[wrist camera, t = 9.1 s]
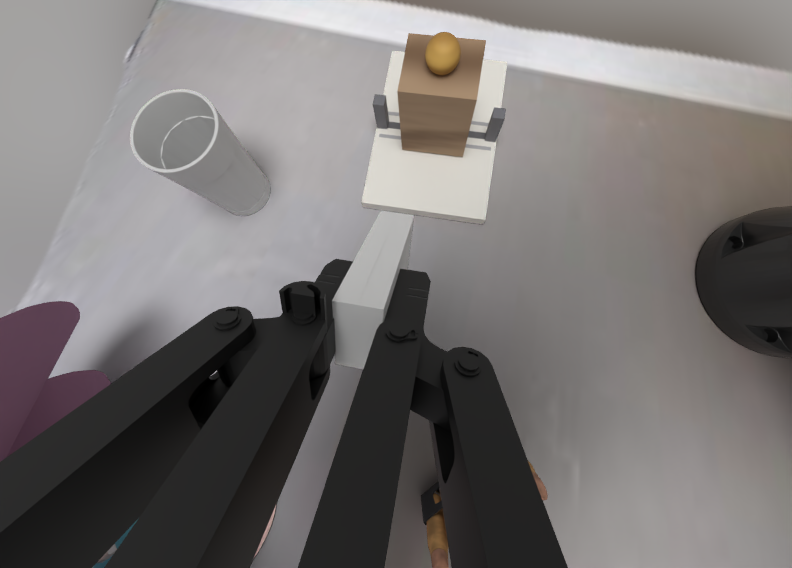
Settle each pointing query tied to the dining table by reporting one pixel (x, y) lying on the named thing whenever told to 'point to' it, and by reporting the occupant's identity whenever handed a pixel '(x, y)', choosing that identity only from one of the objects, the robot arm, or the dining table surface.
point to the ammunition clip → (437, 523)
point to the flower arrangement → (44, 380)
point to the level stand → (435, 157)
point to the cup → (198, 151)
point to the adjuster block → (438, 92)
